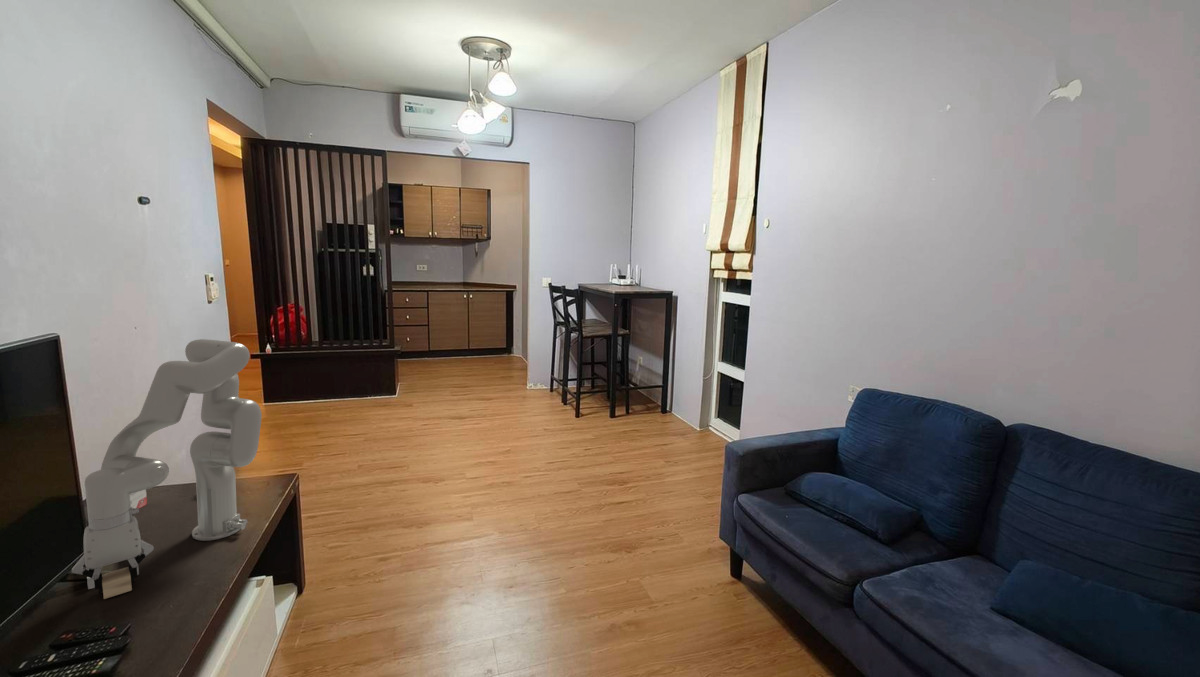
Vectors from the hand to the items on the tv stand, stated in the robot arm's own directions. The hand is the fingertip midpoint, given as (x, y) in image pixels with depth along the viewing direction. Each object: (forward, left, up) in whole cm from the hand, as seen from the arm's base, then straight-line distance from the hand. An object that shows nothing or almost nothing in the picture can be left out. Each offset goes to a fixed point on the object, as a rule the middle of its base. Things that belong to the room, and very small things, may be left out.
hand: (116, 584), depth 124 cm
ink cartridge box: (+34, -35, -2) cm, 49 cm away
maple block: (-1, +1, -1) cm, 1 cm away
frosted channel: (+11, -9, -1) cm, 14 cm away
